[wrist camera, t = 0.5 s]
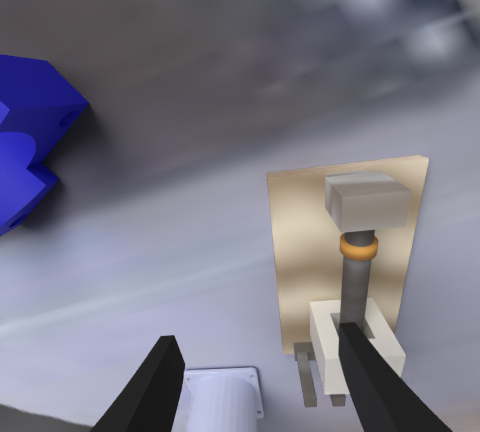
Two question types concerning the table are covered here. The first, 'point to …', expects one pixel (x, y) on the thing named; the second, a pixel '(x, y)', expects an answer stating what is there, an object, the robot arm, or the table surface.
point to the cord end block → (327, 342)
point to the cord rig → (342, 245)
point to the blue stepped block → (30, 132)
